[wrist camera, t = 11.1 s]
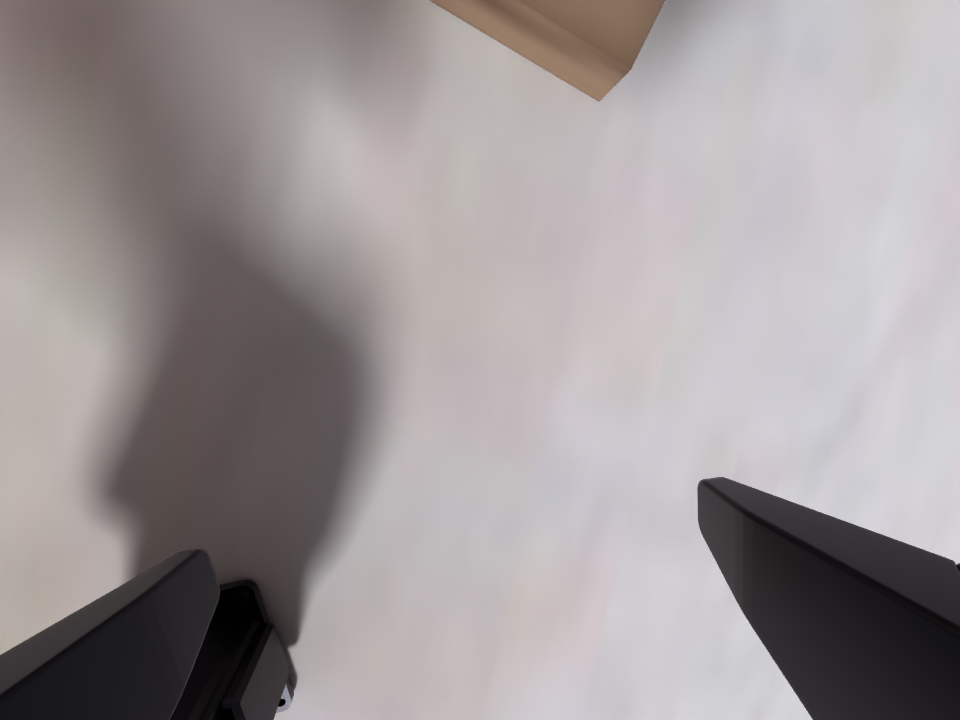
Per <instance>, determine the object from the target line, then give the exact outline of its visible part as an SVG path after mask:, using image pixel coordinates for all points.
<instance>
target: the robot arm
mask: <svg viewBox="0 0 960 720" xmlns="http://www.w3.org/2000/svg"><path fill="white" fill-rule="evenodd" d="M698 523H699V527H700V530H701V533H702V535H703V537H704V539H705V541H706V543H707V545H708V547H709V549H710V551H711V553H712V555H713V556H714V558H715V560H716V562H717V564H718V566H719V568H720V570H721V572H722V574H723V576H724V578H725V580H726V582H727V584H728V585H729V587H730V589H731V591H732V593H733V595H734V597H735V599H736V601H737V603H738V604H739V606H740V608H741V610H742V612H743V613H744V615H745V616H746V618H747V620H748V621H749V623H750V624H751V626H752V628H753V629H754V631H755V632H756V634H757V635H758V637H759V638H760V640H761V641H762V643H763V644H764V646H765V647H766V649H767V650H768V652H769V653H770V655H771V656H772V658H773V660H774V661H775V663H776V664H777V666H778V667H779V669H780V670H781V672H782V673H783V675H784V676H785V678H786V679H787V681H788V682H789V684H790V685H791V687H792V688H793V690H794V692H795V693H796V695H797V696H798V698H799V699H800V701H801V702H802V704H803V705H804V707H805V708H806V710H807V711H808V713H809V714H810V716H811V717H812V719H813V720H960V563H959V564H957V565H956V563H955V562H954V561H953V560H950V559H948V558H945V557H942V556H939V555H937V554H934V553H931V552H928V551H926V550H923V549H920V548H917V547H915V546H912V545H909V544H906V543H903V542H901V541H898V540H895V539H892V538H890V537H887V536H884V535H881V534H879V533H876V532H873V531H870V530H868V529H865V528H862V527H859V526H857V525H854V524H851V523H848V522H846V521H843V520H840V519H837V518H835V517H832V516H829V515H826V514H823V513H821V512H818V511H815V510H812V509H810V508H807V507H804V506H801V505H799V504H796V503H793V502H790V501H788V500H785V499H782V498H779V497H777V496H774V495H771V494H768V493H766V492H763V491H760V490H757V489H755V488H752V487H749V486H746V485H744V484H741V483H738V482H735V481H733V480H730V479H727V478H724V477H717V478H710V479H703V480H701V481H700V482H699V484H698ZM240 591H246V592H247V593H248V594H249V595H244V594H242V593H241V592H240ZM289 674H290V669H289V666H288V663H287V660H286V657H285V654H284V651H283V648H282V645H281V642H280V639H279V636H278V633H277V630H276V627H275V626H274V625H273V624H272V623H271V622H270V621H269V618H268V615H267V612H266V609H265V607H264V604H263V601H262V598H261V595H260V592H259V589H258V586H257V585H256V583H254V582H253V581H251V580H240V581H236V582H232V583H228V584H224V585H220V586H219V583H218V580H217V577H216V574H215V571H214V569H213V566H212V563H211V560H210V557H209V555H208V553H207V552H206V551H205V550H203V549H196V550H189V551H182V552H179V553H177V554H175V555H173V556H172V557H170V558H168V559H166V560H165V561H163V562H161V563H159V564H158V565H156V566H154V567H153V568H151V569H149V570H147V571H146V572H144V573H142V574H140V575H139V576H137V577H135V578H133V579H132V580H130V581H128V582H126V583H125V584H123V585H121V586H120V587H118V588H116V589H114V590H113V591H111V592H109V593H107V594H106V595H104V596H102V597H100V598H99V599H97V600H95V601H93V602H92V603H90V604H88V605H86V606H85V607H83V608H81V609H80V610H78V611H76V612H74V613H73V614H71V615H69V616H67V617H66V618H64V619H62V620H60V621H59V622H57V623H55V624H53V625H52V626H50V627H48V628H47V629H45V630H43V631H41V632H40V633H38V634H36V635H34V636H33V637H31V638H29V639H27V640H26V641H24V642H22V643H20V644H19V645H17V646H15V647H13V648H12V649H10V650H8V651H7V652H5V653H3V654H1V655H0V720H273V719H274V716H275V714H276V713H277V712H281V711H284V710H286V709H288V708H289V707H290V705H291V702H292V699H293V696H294V692H293V689H292V686H291V683H290V680H289ZM281 697H282V698H284V699H281Z"/></svg>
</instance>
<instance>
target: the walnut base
mask: <svg viewBox="0 0 960 720" xmlns="http://www.w3.org/2000/svg"><path fill="white" fill-rule="evenodd" d="M430 1H432V2H433V3H435V4H437V5H438V6H440V7H442V8H443V9H445V10H447V11H448V12H450V13H452V14H453V15H455V16H457V17H458V18H460V19H462V20H463V21H465V22H467V23H469V24H470V25H472V26H474V27H475V28H477V29H479V30H480V31H482V32H484V33H485V34H487V35H489V36H490V37H492V38H494V39H495V40H497V41H499V42H500V43H502V44H504V45H505V46H507V47H509V48H510V49H512V50H514V51H515V52H517V53H519V54H520V55H522V56H524V57H525V58H527V59H529V60H530V61H532V62H534V63H535V64H537V65H539V66H540V67H542V68H544V69H545V70H547V71H549V72H550V73H552V74H554V75H556V76H557V77H559V78H561V79H562V80H564V81H566V82H567V83H569V84H571V85H572V86H574V87H576V88H577V89H579V90H581V91H582V92H584V93H586V94H587V95H589V96H591V97H592V98H594V99H596V100H597V101H600V100H601V99H602V98H603V97H604V96H605V95H606V94H607V93H608V92H609V91H610V90H611V89H612V88H613V87H614V86H615V85H616V84H617V83H618V82H619V81H620V80H621V79H622V78H623V77H624V76H625V75H626V74H627V73H628V72H629V71H630V70H631V68H632V66H633V64H634V62H635V60H636V58H637V56H638V54H639V52H640V50H641V48H642V46H643V44H644V42H645V40H646V38H647V36H648V34H649V32H650V30H651V28H652V26H653V24H654V22H655V20H656V18H657V15H658V13H659V11H660V9H661V7H662V5H663V3H664V1H665V0H430Z"/></svg>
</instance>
